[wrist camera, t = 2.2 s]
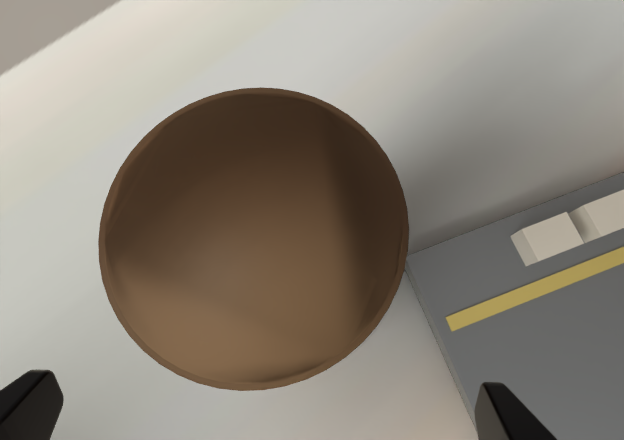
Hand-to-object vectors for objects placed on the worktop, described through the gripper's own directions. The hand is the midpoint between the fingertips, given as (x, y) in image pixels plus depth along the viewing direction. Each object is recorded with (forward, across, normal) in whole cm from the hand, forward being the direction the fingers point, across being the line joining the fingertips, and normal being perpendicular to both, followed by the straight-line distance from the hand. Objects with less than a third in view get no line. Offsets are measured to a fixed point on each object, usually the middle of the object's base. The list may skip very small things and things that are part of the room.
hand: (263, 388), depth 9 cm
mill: (+9, 0, +5) cm, 10 cm away
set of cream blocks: (+11, -13, +2) cm, 17 cm away
